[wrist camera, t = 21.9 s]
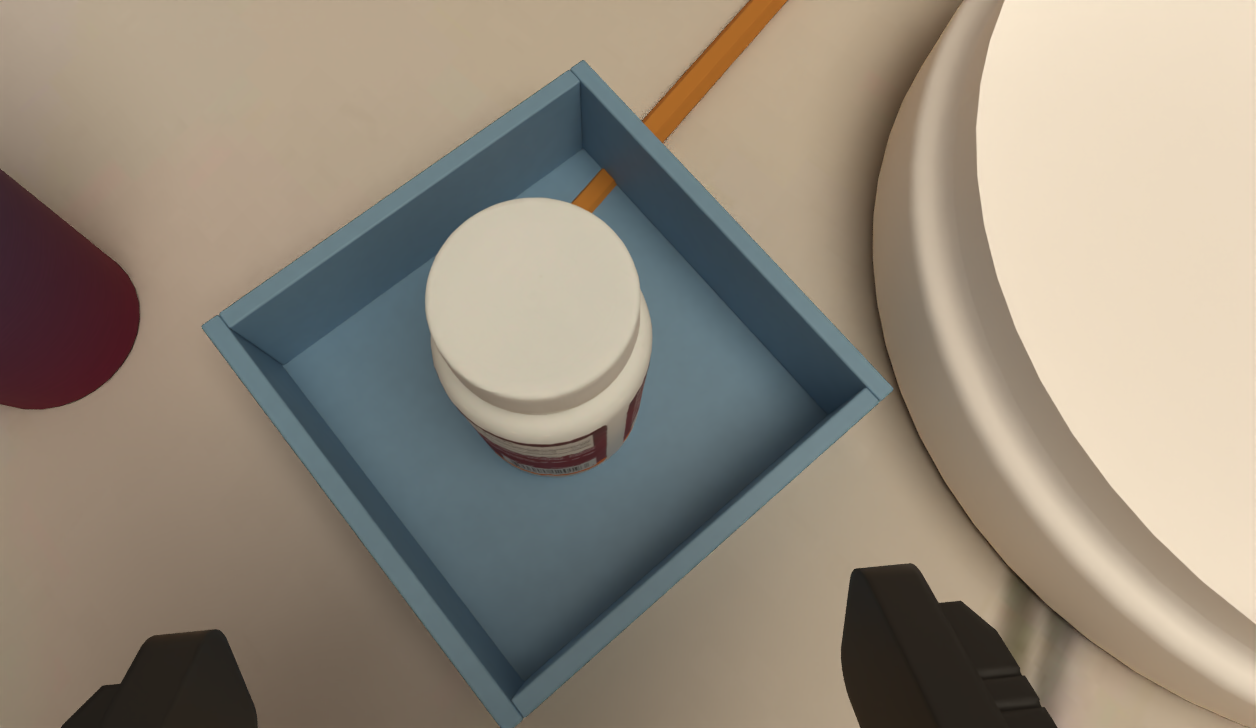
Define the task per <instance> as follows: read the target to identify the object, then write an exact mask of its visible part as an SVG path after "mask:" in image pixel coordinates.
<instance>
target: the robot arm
mask: <svg viewBox="0 0 1256 728" xmlns="http://www.w3.org/2000/svg"><path fill="white" fill-rule="evenodd" d="M841 663H842V671H843V677H844V682H845V686H846V690H847V693H848V696H849V699H850V702H851V704H852V707H853V710H854V712H855V715H856V717H857V720H858V722H859V725H860V728H1057V726H1056V724H1055V723H1054V721H1053V720H1052V718H1051V717H1050V715H1049V713H1048V712H1047V710H1046V709H1045V707H1041V705H1040V702H1039V697H1038V696H1037V694H1036V693H1035V691H1034V689H1033V688H1032V686H1031V685H1030V683H1029V682H1028V680H1027V678H1026V677H1025V676H1022V675H1021V673H1020V667H1019V666H1018V664H1017V662H1016V661H1015V659H1014V658H1013V656H1012V654H1011V653H1010V651H1009V650H1008V648H1007V647H1006V645H1005V643H1004V642H1003V640H1002V639H1001V637H1000V635H999V634H998V632H997V631H996V630H995V629H994V628H993V627H991V626H990V625H989V624H988V623H987V622H985V621H984V620H983V619H982V618H981V617H980V616H978V615H977V614H976V613H975V612H974V611H972V610H971V609H970V608H969V607H968V606H966V605H965V604H964V603H963V602H962V601H955V602H945V603H938V601H937V599H936V598H935V596H934V594H933V592H932V591H931V589H930V587H929V585H928V584H927V582H926V580H925V578H924V577H923V575H922V573H921V572H920V570H919V569H918V568H917V567H916V566H915V565H914V564H911V563H909V564H898V565H888V566H878V567H868V568H858V569H854V570H853V572H852V574H851V577H850V583H849V591H848V599H847V607H846V614H845V622H844V630H843V638H842V645H841ZM61 728H258V723H257V714H256V709H255V706H254V703H253V701H252V699H251V696H250V694H249V691H248V689H247V687H246V684H245V682H244V679H243V677H242V675H241V672H240V670H239V667H238V665H237V663H236V660H235V658H234V655H233V653H232V650H231V648H230V646H229V643H228V641H227V639H226V637H225V635H224V634H223V633H222V632H221V631H220V630H217V629H215V630H205V631H195V632H185V633H175V634H164V635H155V636H152V637H150V638H149V639H147V640H146V641H145V642H144V644H143V645H142V646H141V648H140V650H139V651H138V653H137V655H136V657H135V659H134V660H133V662H132V664H131V666H130V668H129V669H128V671H127V673H126V675H125V677H124V679H123V680H122V682H121V684H114V685H104V686H102V687H101V688H100V689H99V690H98V691H97V692H96V693H95V694H94V695H93V696H92V697H90V698H89V699H88V700H87V701H86V702H85V703H84V704H83V705H82V706H81V707H80V708H79V709H78V710H77V711H76V712H75V713H74V714H73V715H72V716H71V717H70V718H69V719H68V720H67V721H66V722H65V723H64V724H63V725H62V727H61Z"/></svg>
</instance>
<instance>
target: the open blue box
mask: <svg viewBox="0 0 1256 728" xmlns="http://www.w3.org/2000/svg"><path fill="white" fill-rule="evenodd" d="M603 168H604V169H605V170H606V171H607V172H608V174H609V175H610V176H611V177H612V178H613V179H614V180H615V183H616V184H617V185H616V186H615V188H614V189H613V190H612V191H611V192H610V193H609V194H608V195H607V197H606V198H605V199H604V200H603V201H602V202H601V203H600V205H599V206H598V207H597V208H596V209H595V210H594V211H593V212H592V214H594V215H595V216H597V217H598V218H600V219H601V220H602V221H604V222H605V223H606V224H607V225H608V226H609V227H610V228H611V229H612V230H613V231H614V232H615V233H616V234H617V235H618V237H619V238H620V239H621V240H622V242H623V243H624V245H625V246H626V248H627V250H628V252H629V254H630V256H631V258H632V260H633V262H634V265H635V268H636V270H637V273H638V276H639V283H640V289H641V292H642V294H643V296H644V299H645V301H646V304H647V307H648V310H649V314H650V318H651V324H652V351H651V356H650V363H649V368H648V371H647V375H646V379H645V384H644V388H643V392H642V397H641V403H640V407H639V411H638V415H637V419H636V421H635V423H634V426H633V428H632V430H631V432H630V434H629V436H628V437H627V439H626V441H625V442H624V443H623V445H622V446H621V447H620V448H619V449H618V450H617V451H616V452H615V453H614V454H613V455H612V456H611V457H610V458H609V459H607V460H606V461H605V462H603V463H602V464H600V465H599V466H597V467H595V468H593V469H590V470H588V471H586V472H583V473H580V474H577V475H573V476H567V477H545V476H538V475H534V474H530V473H527V472H524V471H522V470H520V469H518V468H516V467H514V466H512V465H510V464H509V463H507V462H506V461H504V460H503V459H502V458H501V457H500V456H498V455H497V454H496V453H495V452H494V451H493V450H492V448H491V447H490V446H489V445H488V444H487V442H486V441H485V440H484V439H483V438H482V437H481V436H480V434H479V433H478V432H477V431H476V429H475V428H474V427H473V426H472V425H471V423H470V422H469V421H468V420H467V419H466V418H465V416H464V415H463V414H461V412H460V411H459V410H458V409H457V407H456V406H455V405H454V404H453V402H452V401H451V400H450V398H449V397H448V395H447V393H446V392H445V390H444V388H443V386H442V384H441V381H440V379H439V377H438V374H437V372H436V369H435V367H434V363H433V358H432V350H431V341H430V339H431V333H430V330H429V326H428V322H427V319H426V312H425V292H426V284H427V279H428V275H429V272H430V269H431V267H432V264H433V262H434V260H435V257H436V255H437V254H438V252H439V250H440V248H441V247H442V246H443V244H444V243H445V241H446V240H447V239H448V237H449V236H450V235H451V234H452V233H453V232H454V231H455V230H456V229H457V228H458V227H459V226H460V225H461V224H462V223H464V222H465V221H466V220H467V219H469V218H470V217H472V216H473V215H475V214H477V213H478V212H480V211H482V210H484V209H486V208H488V207H490V206H493V205H495V204H498V203H501V202H505V201H509V200H514V199H520V198H539V197H540V198H550V199H555V200H560V201H564V202H568V203H571V202H572V201H573V200H574V199H575V198H576V197H577V196H578V195H579V193H580V192H581V191H582V190H583V189H584V188H585V187H586V186H587V184H588V183H589V182H590V181H591V180H592V179H593V178H594V177H595V175H596V174H597V173H598V172H599V171H600V170H601V169H603ZM202 329H203V330H204V332H205V333H206V334H207V336H208V337H209V338H210V340H211V341H212V342H213V344H214V345H215V346H216V348H217V349H218V350H219V352H220V353H221V354H222V356H223V357H224V358H225V360H226V361H227V362H228V364H229V365H230V366H231V368H232V369H233V371H234V372H235V373H236V375H237V376H238V377H239V379H240V380H241V381H242V383H243V384H244V385H245V387H246V388H247V389H248V391H249V392H250V393H251V395H252V396H253V397H254V399H255V400H256V401H257V403H258V404H259V405H260V407H261V408H262V409H263V411H264V412H265V413H266V415H267V416H268V417H269V419H270V420H271V421H272V423H273V424H274V425H275V427H276V428H277V429H278V431H279V432H280V433H281V435H282V436H283V437H284V439H285V440H286V441H287V443H288V444H289V445H290V447H291V448H292V449H293V451H294V452H295V453H296V455H297V456H298V457H299V459H300V460H301V462H302V463H303V464H304V466H305V467H306V468H307V470H308V471H309V472H310V474H311V475H312V476H313V478H314V479H315V480H316V482H317V483H318V484H319V486H320V487H321V488H322V490H323V491H324V492H325V494H326V495H327V496H328V498H329V499H330V500H331V502H332V503H333V504H334V506H335V507H336V508H337V510H338V511H339V512H340V514H341V515H342V516H343V518H344V519H345V520H346V522H347V523H348V524H349V526H350V527H351V528H352V530H353V531H354V532H355V534H356V535H357V536H358V538H359V539H360V540H361V542H362V543H363V544H364V546H365V547H366V548H367V550H368V551H369V553H370V554H371V555H372V557H373V558H374V559H375V561H376V562H377V563H378V565H379V566H380V567H381V569H382V570H383V571H384V573H385V574H386V575H387V577H388V578H389V579H390V581H391V582H392V583H393V585H394V586H395V587H396V589H397V590H398V591H399V593H400V594H401V595H402V597H403V598H404V599H405V601H406V602H407V603H408V605H409V606H410V607H411V609H412V610H413V611H414V613H415V614H416V615H417V617H418V618H419V619H420V621H421V622H422V623H423V625H424V626H425V627H426V629H427V630H428V631H429V633H430V634H431V635H432V637H433V638H434V640H435V641H436V642H437V644H438V645H439V646H440V648H441V649H442V650H443V652H444V653H445V654H446V656H447V657H448V658H449V660H450V661H451V662H452V664H453V665H454V666H455V668H456V669H457V670H458V672H459V673H460V674H461V676H462V677H463V678H464V680H465V681H466V682H467V684H468V685H469V686H470V688H471V689H472V690H473V692H474V693H475V694H476V696H477V697H478V698H479V700H480V701H481V702H482V704H483V705H484V706H485V708H486V709H487V710H488V712H489V713H490V714H491V716H492V717H493V718H494V720H495V721H496V722H497V724H498V725H499V726H500V728H515V727H516V726H517V725H518V724H519V723H520V722H521V721H522V720H523V718H525V717H527V716H528V715H529V714H530V713H531V712H533V711H534V710H535V709H536V708H537V707H538V706H539V705H540V704H542V703H543V702H544V701H545V700H546V699H547V698H548V697H549V696H551V695H552V694H553V693H554V692H555V691H556V690H557V689H558V688H560V687H561V686H562V685H563V684H564V683H565V682H566V681H567V680H568V679H570V678H571V677H572V676H573V675H574V674H575V673H576V672H577V671H579V670H580V669H581V668H582V667H583V666H584V665H585V664H586V663H588V662H589V661H590V660H591V659H592V658H593V657H594V656H595V655H597V654H598V653H599V652H600V651H601V650H602V649H603V648H604V647H606V646H607V645H608V644H609V643H610V642H611V641H612V640H613V639H615V638H616V637H617V636H618V635H619V634H620V633H621V632H622V631H624V630H625V629H626V628H627V627H628V626H629V625H630V624H631V623H632V622H634V621H635V620H636V619H637V618H638V617H639V616H640V615H641V614H643V613H644V612H645V611H646V610H647V609H648V608H649V607H650V606H652V605H653V604H654V603H655V602H656V601H657V600H658V599H659V598H661V597H662V596H663V595H664V594H665V593H666V592H667V591H668V590H670V589H671V588H672V587H673V586H674V585H675V584H676V583H677V582H679V581H680V580H681V579H682V578H683V577H684V576H685V575H686V574H688V573H689V572H690V571H691V570H692V569H693V568H694V567H695V566H696V565H698V564H699V563H700V562H701V561H702V560H703V559H704V558H705V557H707V556H708V555H709V554H710V553H711V552H712V551H713V550H714V549H716V548H717V547H718V546H719V545H720V544H721V543H722V542H723V541H725V540H726V539H727V538H728V537H729V536H730V535H731V534H732V533H734V532H735V531H736V530H737V529H738V528H739V527H740V526H741V525H743V524H744V523H745V522H746V521H747V520H748V519H749V518H750V517H752V516H753V515H754V514H755V513H756V512H757V511H758V510H759V509H760V508H762V507H763V506H764V505H765V504H766V503H767V502H768V501H769V500H771V499H772V498H773V497H774V496H775V495H776V494H777V493H778V492H780V491H781V490H782V489H783V488H784V487H785V486H786V485H787V484H789V483H790V482H791V481H792V480H793V479H794V478H795V477H796V476H798V475H799V474H800V473H801V472H802V471H803V470H804V469H805V468H807V467H808V466H809V465H810V464H811V463H812V462H813V461H814V460H816V459H817V458H818V457H819V456H820V455H821V454H822V453H823V452H824V451H826V450H827V449H828V448H829V447H830V446H831V445H832V444H833V443H835V442H836V441H837V440H838V439H839V438H840V437H841V436H842V435H844V434H845V433H846V432H847V431H848V430H849V429H850V428H851V427H853V426H854V425H855V424H856V423H857V422H858V421H859V420H860V419H862V418H863V417H864V416H865V415H866V414H867V413H868V412H869V411H871V410H872V409H873V408H874V407H875V406H876V405H877V404H878V403H879V402H880V401H882V400H883V399H884V398H885V397H886V396H887V395H888V394H890V393H891V392H892V391H893V387H892V386H891V385H890V384H889V383H888V382H887V381H886V380H885V379H884V378H883V377H882V376H881V374H880V373H879V372H878V371H877V370H876V369H875V368H874V367H873V366H872V365H871V364H870V363H869V362H868V361H867V360H866V359H865V357H864V356H863V355H862V354H861V353H860V352H859V351H858V350H857V349H856V348H855V347H854V346H853V345H852V344H851V343H850V342H849V341H848V339H847V338H846V337H845V336H844V335H843V334H842V333H841V332H840V331H839V330H838V329H837V328H836V327H835V326H834V325H833V324H832V323H831V321H830V320H829V319H828V318H827V317H826V316H825V315H824V314H823V313H822V312H821V311H820V310H819V309H818V308H817V307H816V306H815V304H814V303H813V302H812V301H811V300H810V299H809V298H808V297H807V296H806V295H805V294H804V293H803V292H802V291H801V290H800V289H799V288H798V286H797V285H796V284H795V283H794V282H793V281H792V280H791V279H790V278H789V277H788V276H787V275H786V274H785V273H784V272H783V271H782V269H781V268H780V267H779V266H778V265H777V264H776V263H775V262H774V261H773V260H772V259H771V258H770V257H769V256H768V255H767V254H766V253H765V251H764V250H763V249H762V248H761V247H760V246H759V245H758V244H757V243H756V242H755V241H754V240H753V239H752V238H751V237H750V236H749V235H748V233H747V232H746V231H745V230H744V229H743V228H742V227H741V226H740V225H739V224H738V223H737V222H736V221H735V220H734V219H733V218H732V216H731V215H730V214H729V213H728V212H727V211H726V210H725V209H724V208H723V207H722V206H721V205H720V204H719V203H718V202H717V201H716V200H715V198H714V197H713V196H712V195H711V194H710V193H709V192H708V191H707V190H706V189H705V188H704V187H703V186H702V185H701V184H700V183H699V182H698V180H697V179H696V178H695V177H694V176H693V175H692V174H691V173H690V172H689V171H688V170H687V169H686V168H685V167H684V166H683V165H682V163H681V162H680V161H679V160H678V159H677V158H676V157H675V156H674V155H673V154H672V153H671V152H670V151H669V150H668V149H667V148H666V147H665V145H664V144H663V143H662V142H661V141H660V140H659V139H658V138H657V137H656V136H655V135H654V134H653V133H652V132H651V131H650V130H649V129H648V127H647V126H646V125H645V124H644V123H643V122H642V121H641V120H640V119H639V118H638V117H637V116H636V115H635V114H634V113H633V112H632V110H631V109H630V108H629V107H628V106H627V105H626V104H625V103H624V102H623V101H622V100H621V99H620V98H619V97H618V96H617V95H616V94H615V92H614V91H613V90H612V89H611V88H610V87H609V86H608V85H607V84H606V83H605V82H604V81H603V80H602V79H601V78H600V77H599V75H598V74H597V73H596V72H595V71H594V70H593V69H592V68H591V67H590V66H589V65H588V64H587V63H586V62H585V61H584V60H582V61H581V62H579V63H578V64H576V65H575V66H573V67H572V68H571V69H570V70H568V71H566V72H565V73H563V74H562V75H560V76H559V77H558V78H556V79H555V80H553V81H552V82H550V83H549V84H548V85H546V86H545V87H543V88H542V89H540V90H539V91H538V92H536V93H535V94H533V95H532V96H530V97H529V98H527V99H526V100H525V101H523V102H522V103H520V104H519V105H517V106H516V107H515V108H513V109H512V110H510V111H509V112H507V113H506V114H505V115H503V116H502V117H500V118H499V119H497V120H496V121H494V122H493V123H492V124H490V125H489V126H487V127H486V128H484V129H483V130H482V131H480V132H479V133H477V134H476V135H474V136H473V137H471V138H470V139H469V140H467V141H466V142H464V143H463V144H461V145H460V146H459V147H457V148H456V149H454V150H453V151H451V152H450V153H449V154H447V155H446V156H444V157H443V158H441V159H440V160H438V161H437V162H436V163H434V164H433V165H431V166H430V167H428V168H427V169H426V170H424V171H423V172H421V173H420V174H418V175H417V176H416V177H414V178H413V179H411V180H410V181H408V182H407V183H405V184H404V185H403V186H401V187H400V188H398V189H397V190H395V191H394V192H393V193H391V194H390V195H388V196H387V197H385V198H384V199H383V200H381V201H380V202H378V203H377V204H375V205H374V206H372V207H371V208H370V209H368V210H367V211H365V212H364V213H362V214H361V215H360V216H358V217H357V218H355V219H354V220H352V221H351V222H350V223H348V224H347V225H345V226H344V227H342V228H341V229H339V230H338V231H337V232H335V233H334V234H332V235H331V236H329V237H328V238H327V239H325V240H324V241H322V242H321V243H319V244H318V245H317V246H315V247H314V248H312V249H311V250H309V251H308V252H306V253H305V254H304V255H302V256H301V257H299V258H298V259H296V260H295V261H294V262H292V263H291V264H289V265H288V266H286V267H285V268H284V269H282V270H281V271H279V272H278V273H276V274H275V275H273V276H272V277H271V278H269V279H268V280H266V281H265V282H263V283H262V284H261V285H259V286H258V287H256V288H255V289H253V290H252V291H251V292H249V293H248V294H246V295H245V296H243V297H242V298H240V299H239V300H238V301H236V302H235V303H233V304H232V305H230V306H229V307H228V308H226V309H225V310H223V311H222V312H220V316H219V315H216V316H215V317H213V318H212V319H210V320H209V321H207V322H206V323H205V324H203V325H202Z"/></svg>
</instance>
